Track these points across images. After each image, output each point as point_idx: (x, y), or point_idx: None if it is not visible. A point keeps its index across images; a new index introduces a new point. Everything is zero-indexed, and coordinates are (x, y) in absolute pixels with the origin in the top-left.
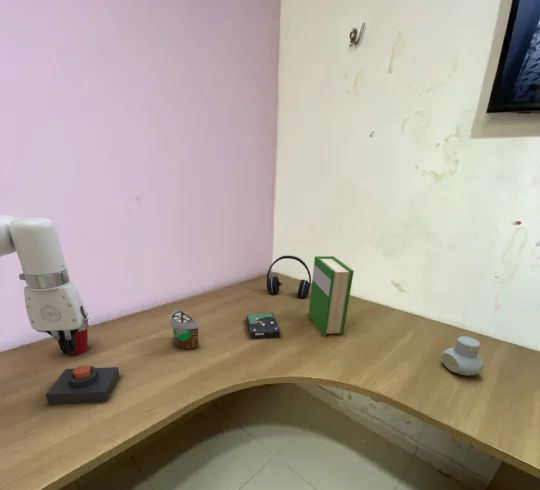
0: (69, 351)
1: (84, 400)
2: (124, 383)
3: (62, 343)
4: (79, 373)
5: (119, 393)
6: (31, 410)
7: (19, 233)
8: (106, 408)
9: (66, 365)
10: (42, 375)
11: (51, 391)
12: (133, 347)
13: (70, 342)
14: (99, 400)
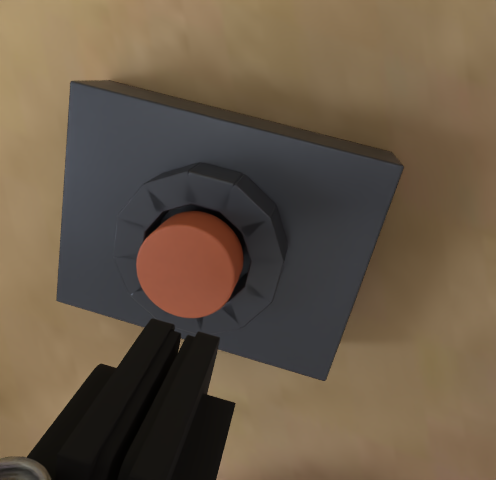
0: (137, 341)
1: (208, 108)
2: (59, 212)
3: (143, 440)
4: (185, 226)
5: (65, 136)
6: (477, 133)
7: None
8: (101, 24)
9: (349, 450)
10: (452, 413)
11: (372, 184)
12: None
13: (67, 437)
14: (136, 88)
